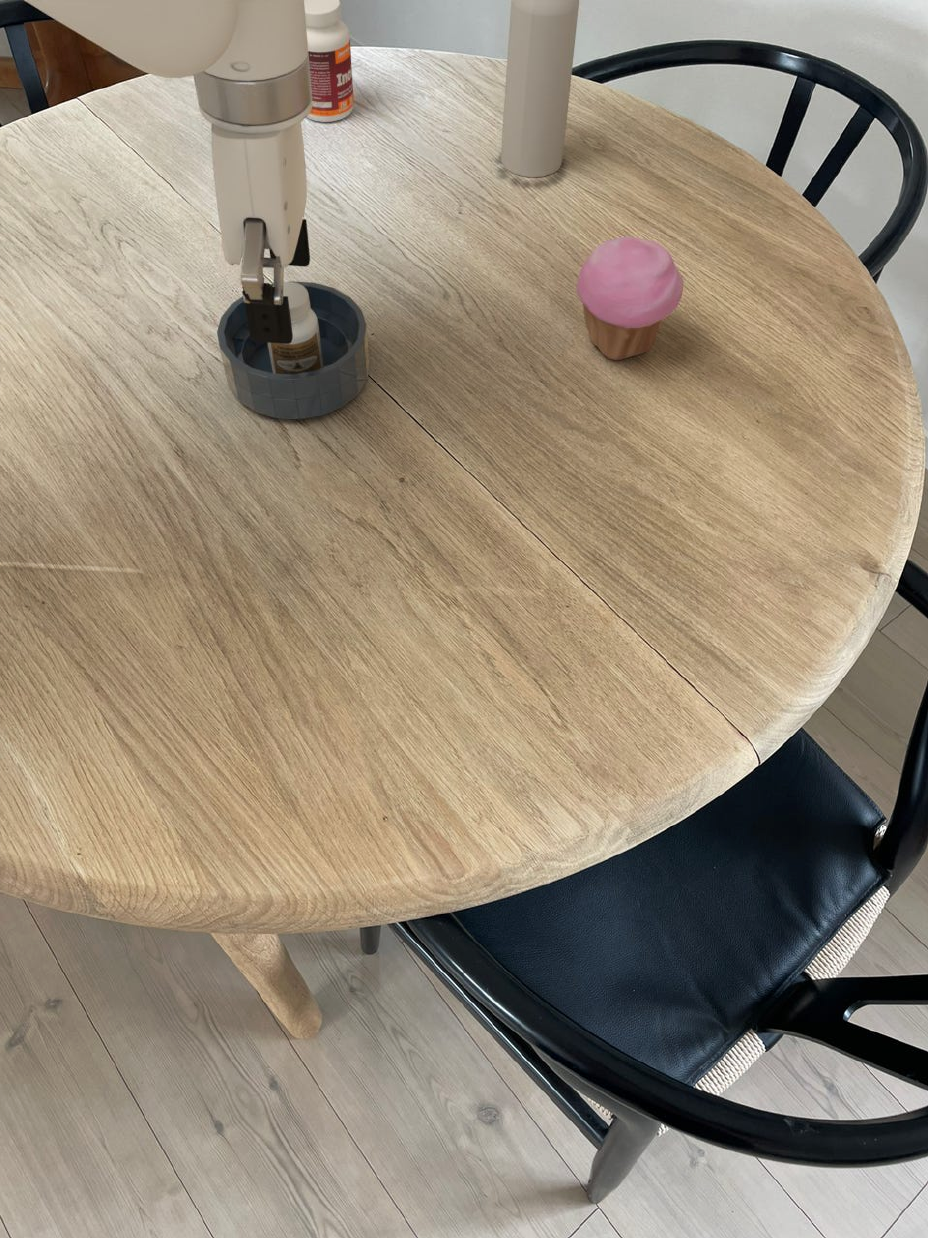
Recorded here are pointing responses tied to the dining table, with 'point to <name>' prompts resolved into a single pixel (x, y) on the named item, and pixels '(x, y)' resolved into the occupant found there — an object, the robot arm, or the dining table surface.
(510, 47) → the bottle
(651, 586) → the dining table surface
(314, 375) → the bowl
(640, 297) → the cupcake
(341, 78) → the pill bottle
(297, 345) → the pill bottle
